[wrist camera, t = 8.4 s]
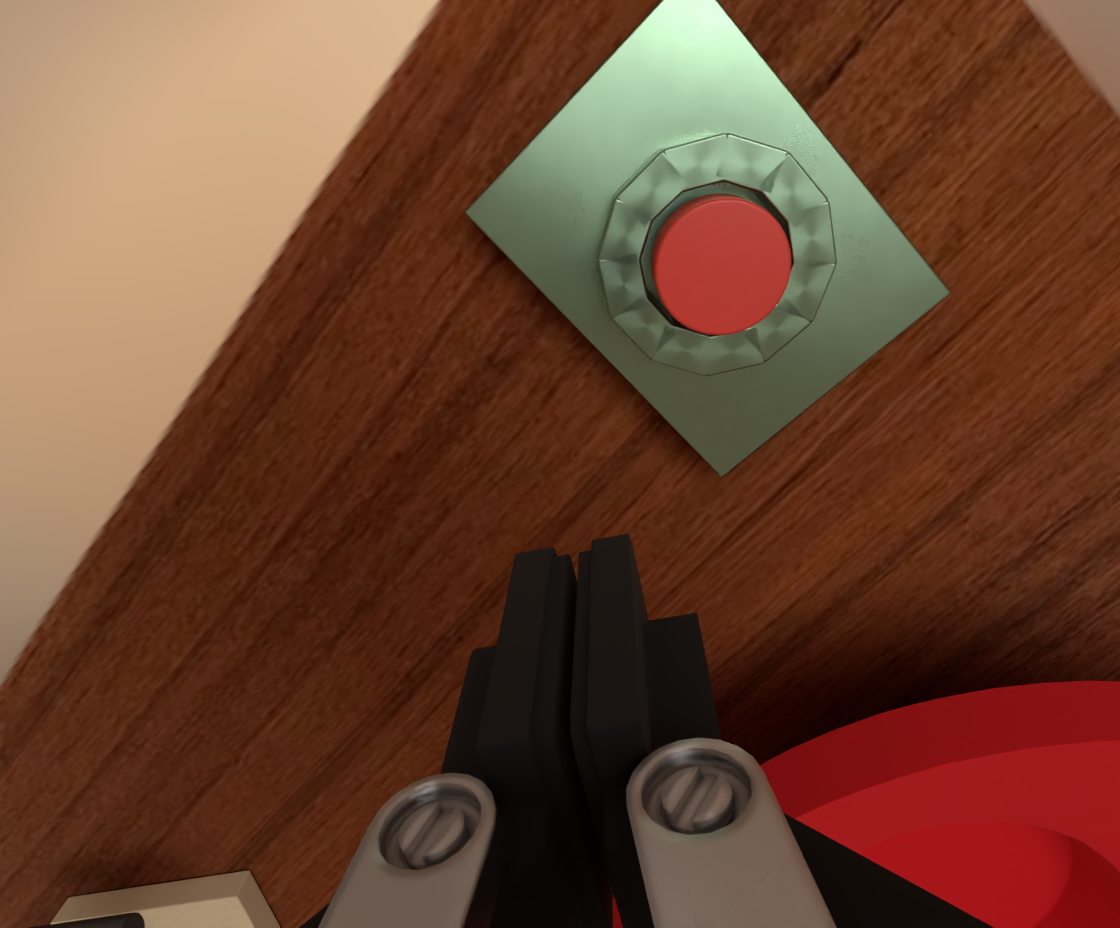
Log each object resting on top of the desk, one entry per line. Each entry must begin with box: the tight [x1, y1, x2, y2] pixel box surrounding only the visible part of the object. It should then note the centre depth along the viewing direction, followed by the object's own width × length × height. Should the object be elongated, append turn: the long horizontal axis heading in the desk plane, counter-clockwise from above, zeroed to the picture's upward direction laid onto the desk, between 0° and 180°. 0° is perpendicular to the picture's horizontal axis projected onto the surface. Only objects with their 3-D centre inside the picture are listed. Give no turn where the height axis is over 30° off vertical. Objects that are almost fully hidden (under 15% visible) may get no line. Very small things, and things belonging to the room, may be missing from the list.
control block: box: [465, 0, 950, 477], centre depth 24 cm, size 12×9×4 cm
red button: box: [652, 194, 791, 335], centre depth 22 cm, size 4×4×2 cm
